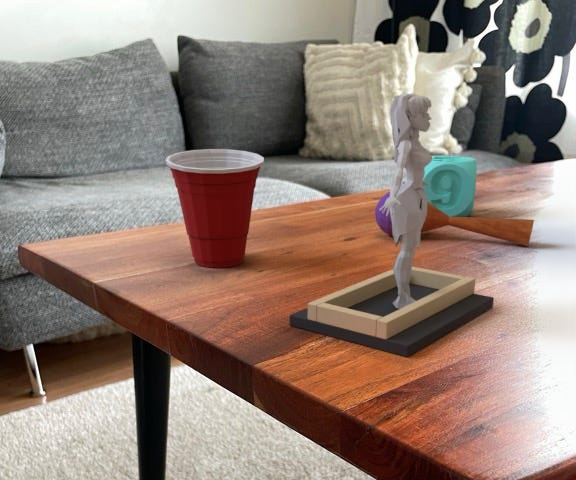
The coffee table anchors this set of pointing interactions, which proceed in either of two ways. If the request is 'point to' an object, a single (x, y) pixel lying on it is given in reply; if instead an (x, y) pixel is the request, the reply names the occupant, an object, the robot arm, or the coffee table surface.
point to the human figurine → (408, 185)
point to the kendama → (464, 224)
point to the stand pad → (395, 311)
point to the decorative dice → (451, 184)
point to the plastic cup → (216, 201)
